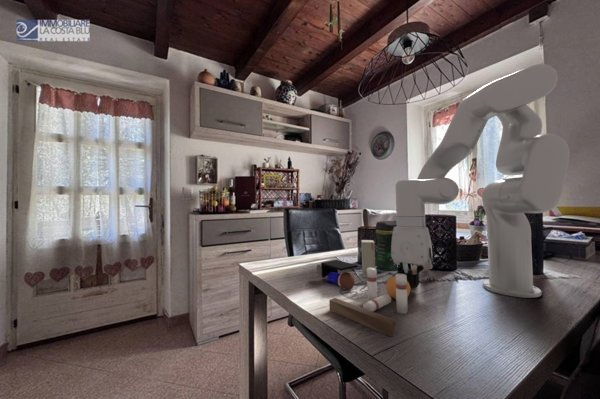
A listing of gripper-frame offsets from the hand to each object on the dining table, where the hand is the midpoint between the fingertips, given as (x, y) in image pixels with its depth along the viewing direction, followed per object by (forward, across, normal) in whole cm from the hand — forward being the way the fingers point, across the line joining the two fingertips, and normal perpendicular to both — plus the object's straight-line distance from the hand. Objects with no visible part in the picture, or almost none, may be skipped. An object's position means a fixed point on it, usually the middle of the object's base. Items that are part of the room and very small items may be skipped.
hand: (412, 286), depth 70 cm
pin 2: (+2, +4, -14) cm, 15 cm away
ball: (-2, 0, -8) cm, 8 cm away
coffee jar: (+2, -18, +19) cm, 26 cm away
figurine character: (+2, -20, -10) cm, 22 cm away
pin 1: (+2, -4, -14) cm, 15 cm away
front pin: (0, -1, -12) cm, 12 cm away
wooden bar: (+2, 0, -25) cm, 25 cm away
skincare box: (+2, -18, +5) cm, 19 cm away
